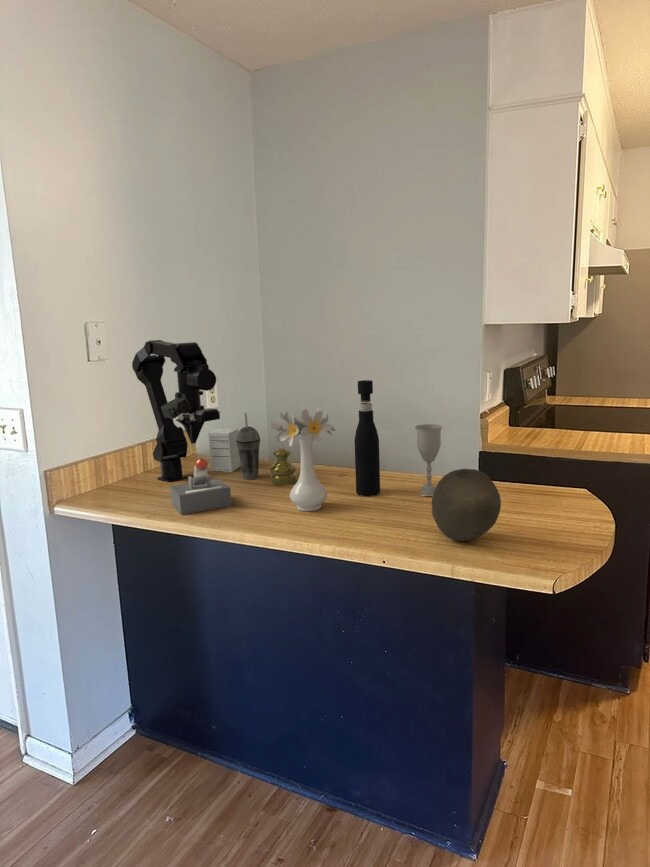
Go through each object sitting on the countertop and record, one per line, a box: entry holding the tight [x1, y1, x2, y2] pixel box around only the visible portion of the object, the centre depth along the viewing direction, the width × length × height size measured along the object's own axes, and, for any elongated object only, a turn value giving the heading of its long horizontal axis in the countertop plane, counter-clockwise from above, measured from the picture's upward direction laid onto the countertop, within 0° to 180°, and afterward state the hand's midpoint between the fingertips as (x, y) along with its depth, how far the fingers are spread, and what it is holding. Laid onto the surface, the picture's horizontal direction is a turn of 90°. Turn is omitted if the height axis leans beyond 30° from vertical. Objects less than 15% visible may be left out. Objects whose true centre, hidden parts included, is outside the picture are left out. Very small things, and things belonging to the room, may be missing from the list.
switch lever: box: [192, 457, 209, 486], centre depth 159 cm, size 3×3×8 cm
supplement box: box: [208, 427, 241, 473], centre depth 199 cm, size 7×7×13 cm
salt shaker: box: [269, 447, 297, 486], centre depth 181 cm, size 7×7×10 cm
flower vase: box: [269, 407, 336, 512], centre depth 155 cm, size 13×18×25 cm
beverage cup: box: [236, 412, 261, 481], centre depth 186 cm, size 7×7×20 cm
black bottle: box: [354, 379, 381, 497], centre depth 165 cm, size 6×6×30 cm
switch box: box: [169, 473, 232, 516], centre depth 162 cm, size 10×13×8 cm
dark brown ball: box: [431, 468, 502, 542], centre depth 130 cm, size 14×14×15 cm
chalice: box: [414, 423, 443, 496], centre depth 163 cm, size 7×7×18 cm
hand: (193, 443), depth 177 cm, fingers closed
